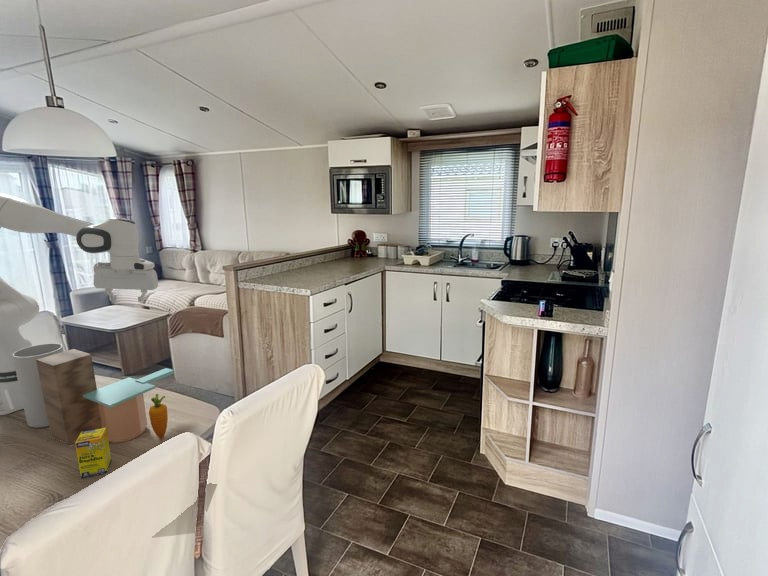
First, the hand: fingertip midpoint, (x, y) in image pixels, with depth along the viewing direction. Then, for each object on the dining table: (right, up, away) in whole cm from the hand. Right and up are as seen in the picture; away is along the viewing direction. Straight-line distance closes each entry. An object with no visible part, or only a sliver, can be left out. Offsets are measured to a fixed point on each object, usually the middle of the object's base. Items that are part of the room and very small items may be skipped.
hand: (127, 301), depth 143 cm
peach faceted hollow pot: (+10, -42, -16) cm, 46 cm away
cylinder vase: (-20, -40, -8) cm, 46 cm away
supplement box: (+14, -46, -34) cm, 59 cm away
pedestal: (-5, -42, -16) cm, 45 cm away
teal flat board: (+13, -27, -15) cm, 34 cm away
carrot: (+24, -43, -20) cm, 53 cm away
